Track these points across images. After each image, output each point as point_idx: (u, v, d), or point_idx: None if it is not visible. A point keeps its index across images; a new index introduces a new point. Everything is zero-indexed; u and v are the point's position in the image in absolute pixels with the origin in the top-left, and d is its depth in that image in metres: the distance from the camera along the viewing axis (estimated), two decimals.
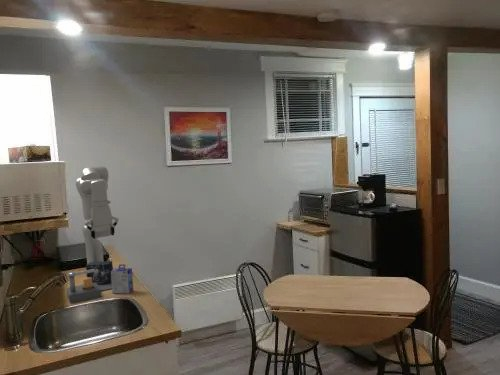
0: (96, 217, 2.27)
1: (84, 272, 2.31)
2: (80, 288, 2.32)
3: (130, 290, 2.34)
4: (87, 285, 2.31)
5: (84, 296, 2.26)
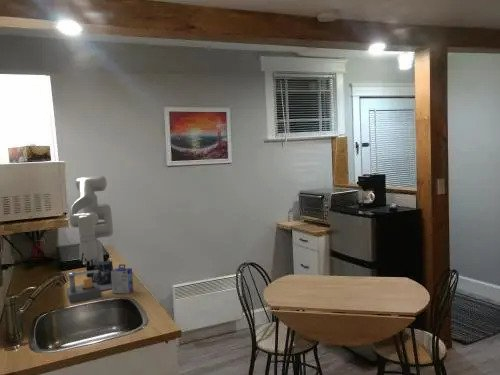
0: (89, 251, 2.30)
1: (84, 272, 2.30)
2: (80, 288, 2.32)
3: (130, 290, 2.34)
4: (87, 285, 2.31)
5: (84, 296, 2.26)
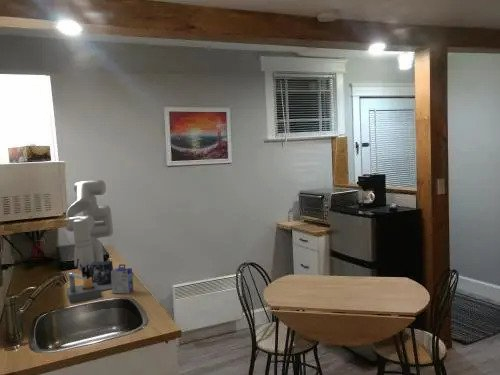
0: (84, 257, 2.21)
1: (76, 276, 2.24)
2: (80, 288, 2.32)
3: (130, 290, 2.34)
4: (87, 285, 2.31)
5: (84, 296, 2.26)
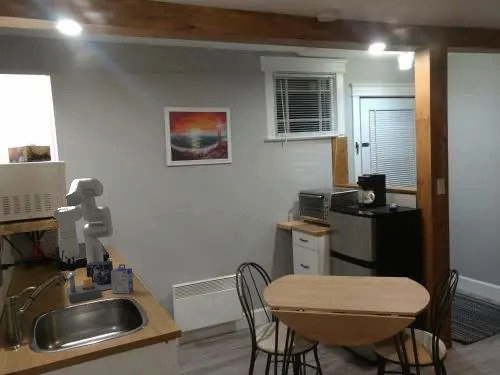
0: (69, 248, 2.15)
1: None
2: (80, 288, 2.32)
3: (130, 290, 2.34)
4: (87, 285, 2.31)
5: (84, 296, 2.26)
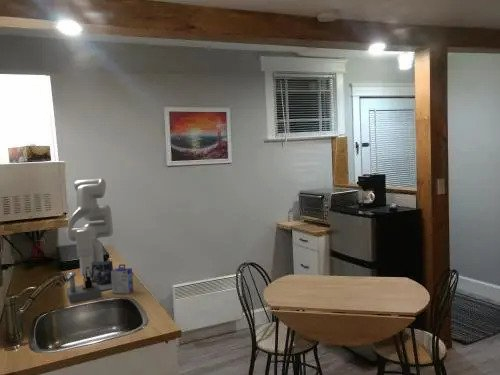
0: (91, 265, 2.30)
1: None
2: (80, 288, 2.32)
3: (130, 290, 2.34)
4: None
5: (84, 296, 2.26)
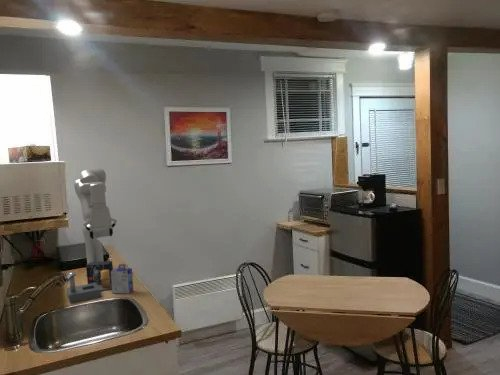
0: None
1: None
2: (80, 288, 2.32)
3: (130, 290, 2.34)
4: None
5: (84, 296, 2.26)
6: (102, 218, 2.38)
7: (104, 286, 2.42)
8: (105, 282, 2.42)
